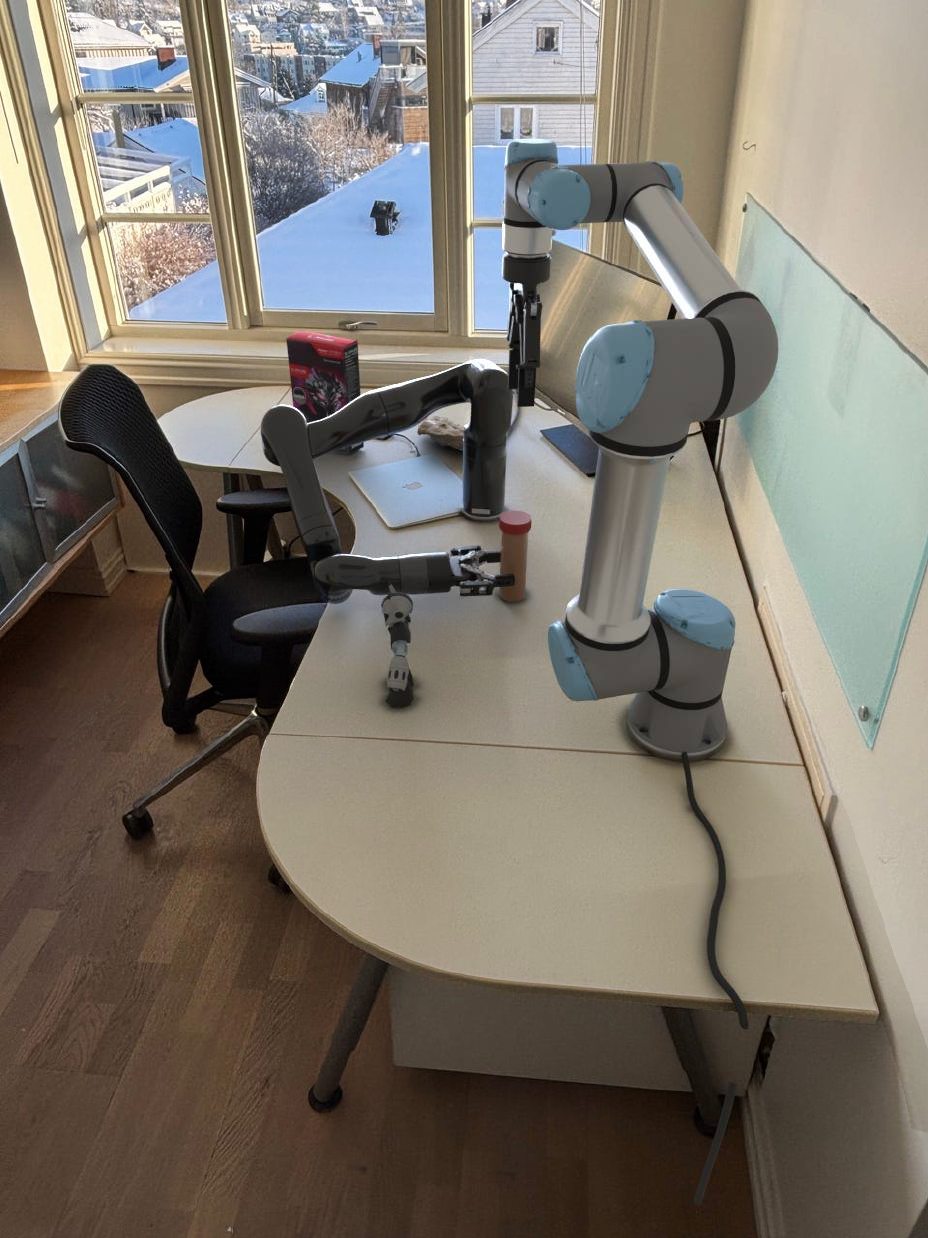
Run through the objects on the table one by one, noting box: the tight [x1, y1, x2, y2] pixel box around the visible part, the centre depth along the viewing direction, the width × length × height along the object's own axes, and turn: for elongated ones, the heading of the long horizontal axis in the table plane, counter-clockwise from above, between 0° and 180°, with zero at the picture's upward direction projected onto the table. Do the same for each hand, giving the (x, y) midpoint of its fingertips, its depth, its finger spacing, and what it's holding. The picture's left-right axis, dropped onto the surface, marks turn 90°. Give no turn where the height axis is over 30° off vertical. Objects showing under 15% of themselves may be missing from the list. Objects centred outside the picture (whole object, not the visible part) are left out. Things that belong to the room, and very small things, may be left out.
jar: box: [498, 530, 529, 603], centre depth 171 cm, size 5×5×16 cm
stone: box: [416, 415, 464, 452], centre depth 232 cm, size 21×15×6 cm
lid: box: [498, 509, 532, 535], centre depth 167 cm, size 6×6×2 cm
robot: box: [380, 581, 415, 709], centre depth 145 cm, size 20×5×20 cm, turn 3°
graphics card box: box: [285, 330, 365, 456], centre depth 225 cm, size 17×7×27 cm, turn 62°
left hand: (510, 567), depth 172 cm, fingers open, 8 cm apart
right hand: (520, 396), depth 154 cm, fingers open, 8 cm apart
